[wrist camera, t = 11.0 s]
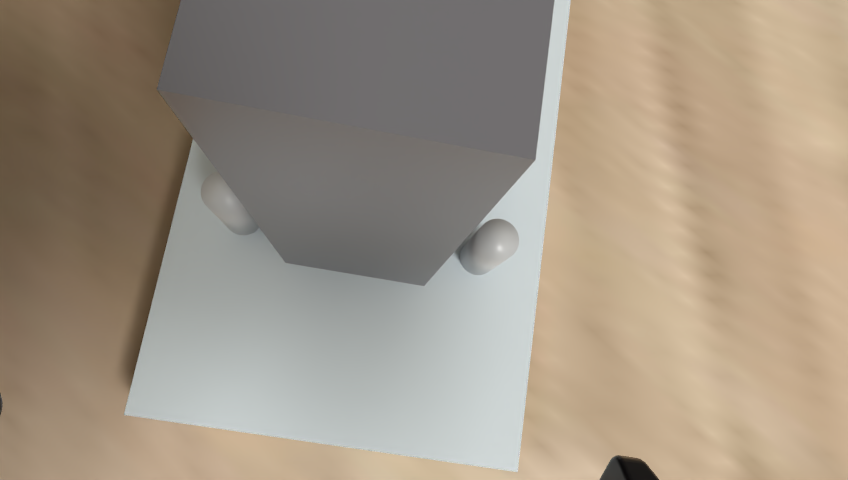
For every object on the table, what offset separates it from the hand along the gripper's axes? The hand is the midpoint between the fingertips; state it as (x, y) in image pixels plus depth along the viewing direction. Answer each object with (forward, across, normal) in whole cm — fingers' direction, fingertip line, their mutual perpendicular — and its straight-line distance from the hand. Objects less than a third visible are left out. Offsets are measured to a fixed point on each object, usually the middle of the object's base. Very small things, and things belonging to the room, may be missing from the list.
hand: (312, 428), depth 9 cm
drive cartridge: (+12, 0, +2) cm, 12 cm away
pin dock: (+15, 0, +1) cm, 15 cm away
